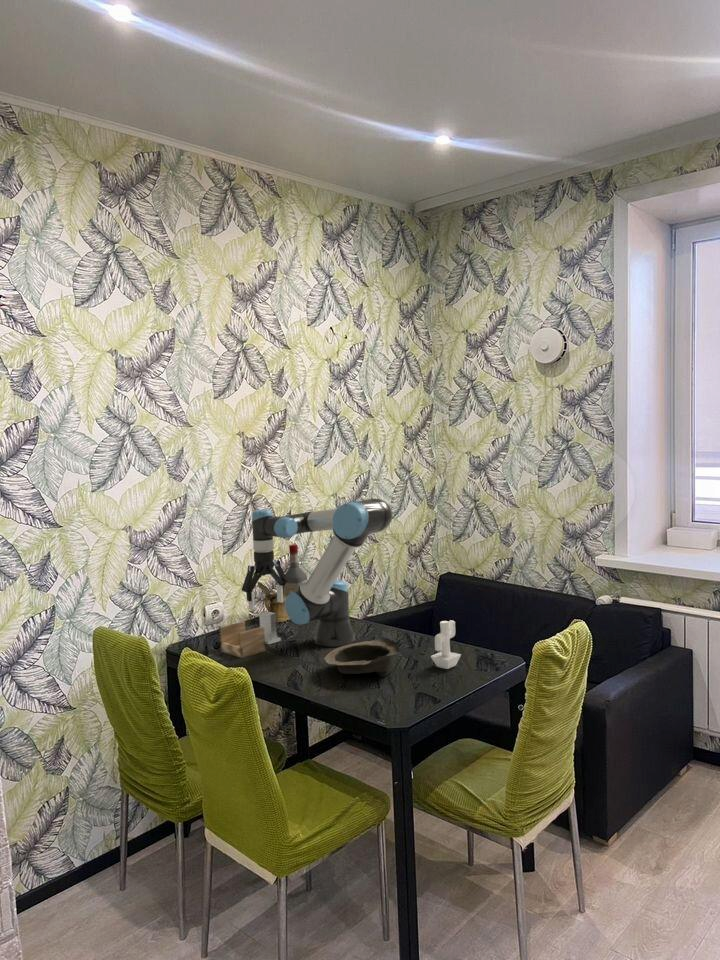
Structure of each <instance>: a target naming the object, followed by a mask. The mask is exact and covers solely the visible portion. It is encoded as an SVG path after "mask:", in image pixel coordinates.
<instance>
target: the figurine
mask: <svg viewBox="0 0 720 960" xmlns="http://www.w3.org/2000/svg"><path fill="white" fill-rule="evenodd" d="M439 626H440V632H439V633H437V634H435V636H434V650H435V651H437V653H435V654H433V655H430V658H431V659H432V661H433V663H434V664H435V667H437V668H441V669H445V670H449V669H451V668H453V667H455V666H457V663H458V662H459V660H460V658H461V656H462V654H461V653H457V652H452V651H451V643H450V640H451V639H452V638H454V637H455V636H456V621H454V620H451V619H450V620H449V621H447V620H442V621H440V622H439Z"/></svg>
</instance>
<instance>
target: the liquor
mask: <svg viewBox="0 0 720 960" xmlns="http://www.w3.org/2000/svg"><path fill="white" fill-rule="evenodd" d="M288 548H289V549H288V550H289V560H290V561H289V564H290V565H289V568H288V569H287V571H286V572H284V573H285V575H286V578H287V580H288V582H287V583H286V585H285V586H284V594H285V597H287V596H288V595H289V594H291V593H295V592H296V591H297V590H298V588H299V586H300V584H301V583H302V582H303V581H304V580H308V574H307V573H306V572H305V571H304V570H303V569H302V568H301V567H300V565H299V555H298V554H299V553H298V552H299V546H298V544H290V545H288Z"/></svg>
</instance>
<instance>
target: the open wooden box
mask: <svg viewBox="0 0 720 960" xmlns="http://www.w3.org/2000/svg"><path fill="white" fill-rule="evenodd" d="M219 633H220V634H219V635H220V637H219V638H220V648H221V650H220V651H221V653H225V654H226V655H229V656H230V655H231V656H234V657H237V658H239V659H243V658H244V659H245V658H247V657H250V656H253V655H257V654H259V653H263V652H266V644H265V634H264V627H263V626H262V627H260V626H259V627H256V628H252V629H248V630H246V621H238V622H235V623H232V624H228V625H225V626H221V627H219Z"/></svg>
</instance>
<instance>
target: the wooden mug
mask: <svg viewBox="0 0 720 960" xmlns="http://www.w3.org/2000/svg"><path fill="white" fill-rule="evenodd" d="M257 585H258V586H257V587H258V588H259V589H260V590H261V591H262V592H263V593H264V594H265V595H264V601H263V604H264V606H265V608H266V611H268V612H272V613H275V614H276V624H279V622H282V623H285V622H284V621H286V622H288V621H289V620H290V618H289V617H288V615H287V613H286V608H285V599H286V597H285V594H284V593H283V603H281V602H277V592H273V593H271V592H270V589H269V588H268V587H267V586H266V585H265V584H263V583H262V582H261V581H258V582H257ZM287 620H288V621H287Z"/></svg>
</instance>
